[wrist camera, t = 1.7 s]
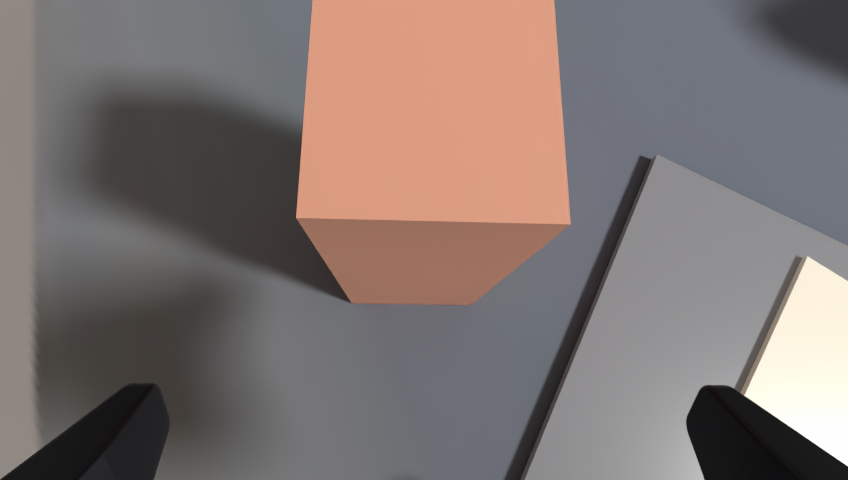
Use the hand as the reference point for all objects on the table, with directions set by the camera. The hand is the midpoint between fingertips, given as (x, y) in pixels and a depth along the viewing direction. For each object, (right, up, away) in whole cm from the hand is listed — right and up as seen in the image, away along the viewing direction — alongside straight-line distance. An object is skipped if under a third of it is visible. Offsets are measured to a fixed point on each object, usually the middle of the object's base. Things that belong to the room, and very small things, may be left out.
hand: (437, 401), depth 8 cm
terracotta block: (-1, +2, +13) cm, 13 cm away
